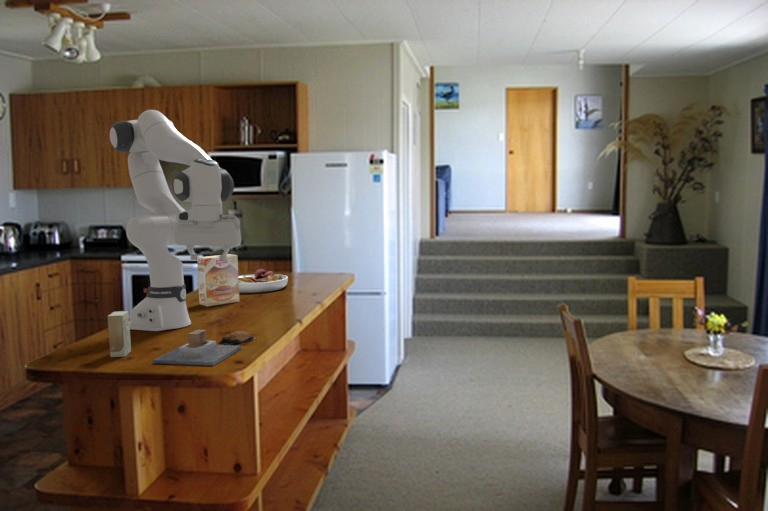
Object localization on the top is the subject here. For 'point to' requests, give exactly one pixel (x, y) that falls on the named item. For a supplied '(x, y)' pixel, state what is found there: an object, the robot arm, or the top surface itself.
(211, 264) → the coffeecake box
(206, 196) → the robot arm
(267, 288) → the bowl
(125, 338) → the skincare box
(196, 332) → the walnut peg
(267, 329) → the top surface
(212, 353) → the metal duct collar
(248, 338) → the bread roll
